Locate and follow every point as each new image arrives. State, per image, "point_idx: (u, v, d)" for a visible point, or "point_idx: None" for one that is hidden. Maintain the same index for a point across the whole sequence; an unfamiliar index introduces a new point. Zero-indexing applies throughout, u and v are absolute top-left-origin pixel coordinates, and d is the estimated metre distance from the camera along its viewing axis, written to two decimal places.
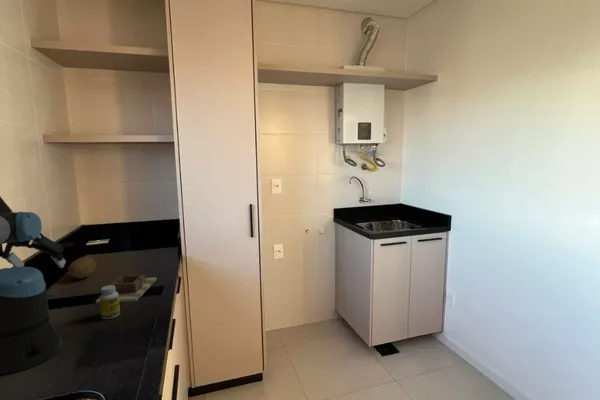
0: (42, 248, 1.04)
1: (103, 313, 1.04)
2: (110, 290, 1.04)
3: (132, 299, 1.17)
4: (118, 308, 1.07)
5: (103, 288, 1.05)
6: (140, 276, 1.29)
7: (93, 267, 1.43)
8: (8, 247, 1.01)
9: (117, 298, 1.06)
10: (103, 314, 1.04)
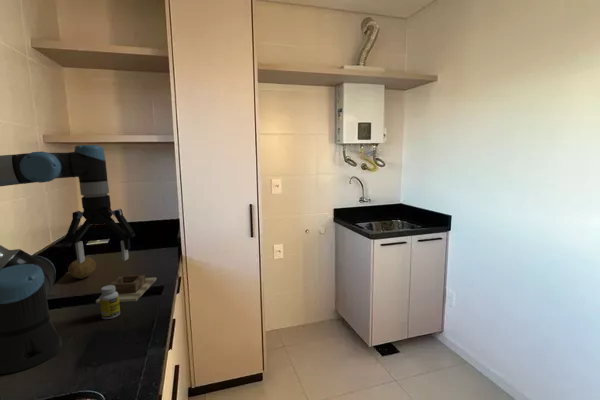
0: (117, 228, 1.03)
1: (103, 313, 1.04)
2: (110, 290, 1.04)
3: (132, 299, 1.17)
4: (118, 308, 1.07)
5: (103, 288, 1.05)
6: (140, 276, 1.29)
7: (93, 267, 1.43)
8: (86, 223, 1.01)
9: (117, 298, 1.06)
10: (103, 314, 1.04)
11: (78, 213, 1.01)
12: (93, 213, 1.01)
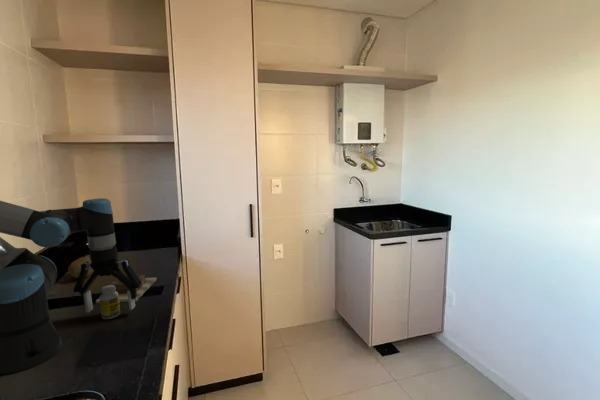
0: (124, 279, 1.05)
1: (103, 313, 1.04)
2: (110, 290, 1.04)
3: None
4: (118, 308, 1.07)
5: (103, 288, 1.05)
6: (140, 276, 1.29)
7: None
8: (94, 275, 1.03)
9: (117, 298, 1.06)
10: (103, 314, 1.04)
11: (86, 264, 1.04)
12: (101, 265, 1.03)
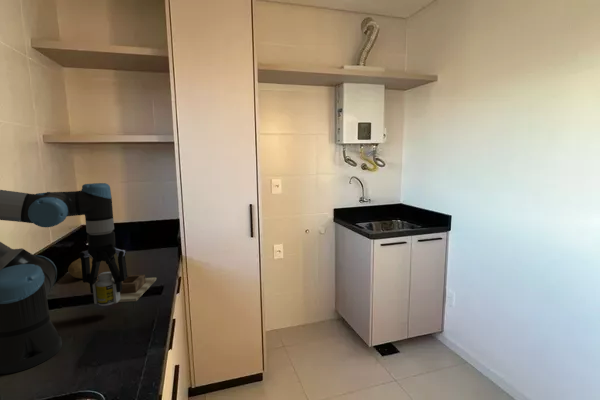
0: (114, 269, 1.04)
1: (99, 299, 1.03)
2: (107, 277, 1.04)
3: (132, 299, 1.17)
4: None
5: (100, 274, 1.04)
6: (140, 276, 1.29)
7: None
8: (94, 261, 1.02)
9: None
10: (99, 300, 1.03)
11: (84, 252, 1.03)
12: (97, 247, 1.02)
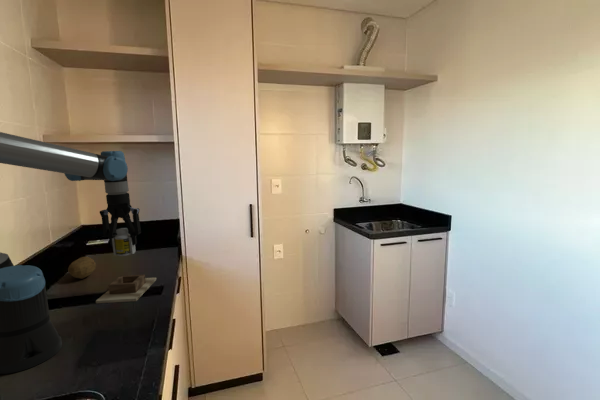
0: (130, 225, 1.21)
1: (118, 250, 1.21)
2: (124, 231, 1.21)
3: (132, 299, 1.17)
4: None
5: (118, 229, 1.21)
6: (140, 276, 1.29)
7: (93, 267, 1.43)
8: (113, 217, 1.20)
9: None
10: (118, 251, 1.21)
11: (104, 211, 1.20)
12: (114, 205, 1.20)
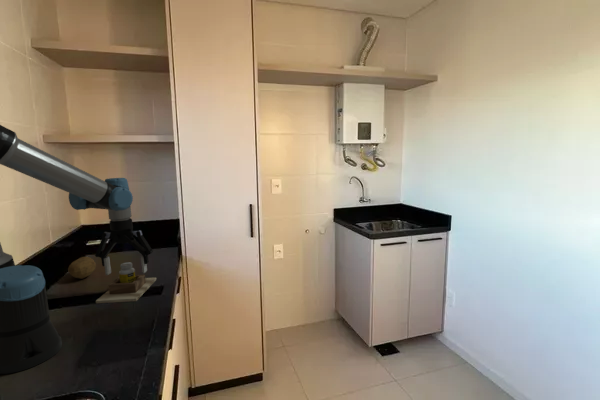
0: (138, 246, 1.24)
1: None
2: (128, 266, 1.24)
3: (132, 299, 1.17)
4: None
5: (122, 264, 1.24)
6: (140, 276, 1.29)
7: (93, 267, 1.43)
8: (113, 242, 1.22)
9: (134, 273, 1.26)
10: None
11: (106, 233, 1.22)
12: (118, 234, 1.22)
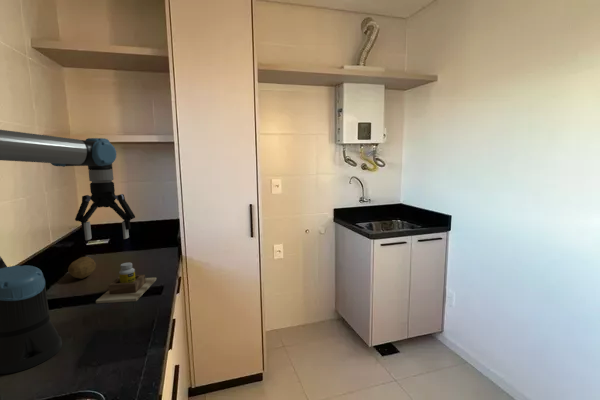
0: (119, 210, 1.19)
1: None
2: (128, 266, 1.24)
3: (132, 299, 1.17)
4: None
5: (122, 264, 1.24)
6: (140, 276, 1.29)
7: (93, 267, 1.43)
8: (93, 205, 1.17)
9: (134, 273, 1.26)
10: None
11: (87, 197, 1.18)
12: (99, 197, 1.17)
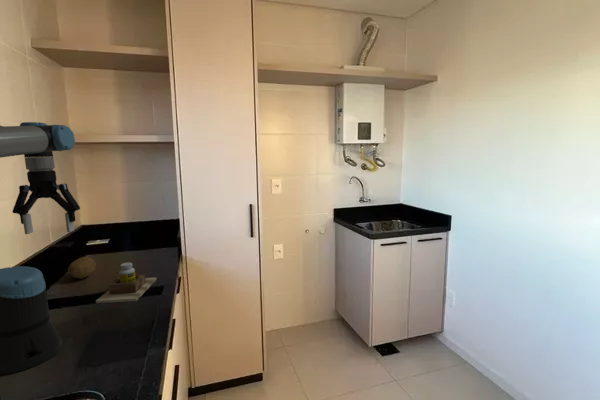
0: (61, 201, 1.09)
1: None
2: (128, 266, 1.24)
3: (132, 299, 1.17)
4: None
5: (122, 264, 1.24)
6: (140, 276, 1.29)
7: (93, 267, 1.43)
8: (32, 196, 1.08)
9: (134, 273, 1.26)
10: None
11: (25, 187, 1.08)
12: (39, 187, 1.08)
